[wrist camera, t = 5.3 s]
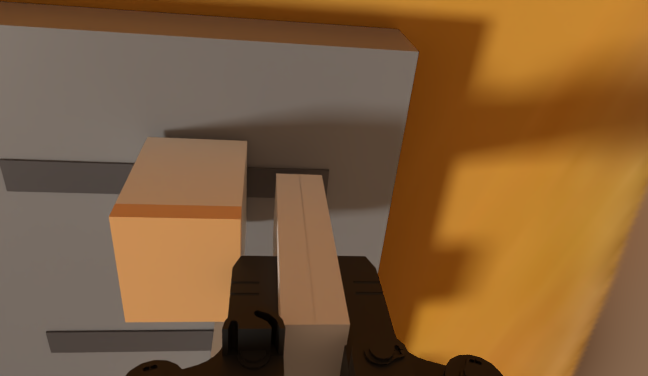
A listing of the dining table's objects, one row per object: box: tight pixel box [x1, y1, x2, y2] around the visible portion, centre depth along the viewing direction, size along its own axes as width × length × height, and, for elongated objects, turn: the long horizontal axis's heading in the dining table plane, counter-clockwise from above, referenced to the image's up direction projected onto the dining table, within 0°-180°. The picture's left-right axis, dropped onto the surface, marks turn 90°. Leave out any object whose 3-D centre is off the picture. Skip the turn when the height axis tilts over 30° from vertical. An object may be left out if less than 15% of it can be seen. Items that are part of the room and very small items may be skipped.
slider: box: [109, 137, 247, 322], centre depth 15 cm, size 3×4×5 cm
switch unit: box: [0, 1, 419, 376], centre depth 23 cm, size 18×26×3 cm
